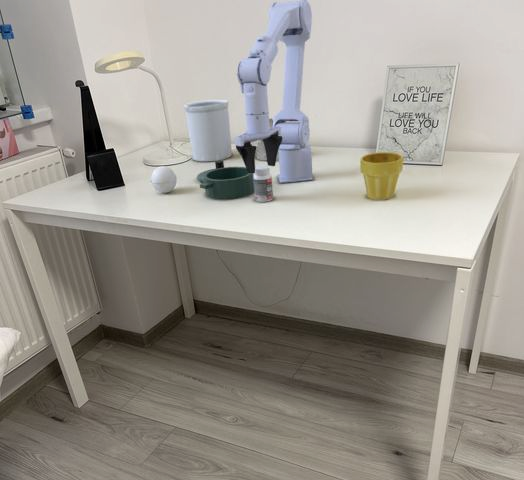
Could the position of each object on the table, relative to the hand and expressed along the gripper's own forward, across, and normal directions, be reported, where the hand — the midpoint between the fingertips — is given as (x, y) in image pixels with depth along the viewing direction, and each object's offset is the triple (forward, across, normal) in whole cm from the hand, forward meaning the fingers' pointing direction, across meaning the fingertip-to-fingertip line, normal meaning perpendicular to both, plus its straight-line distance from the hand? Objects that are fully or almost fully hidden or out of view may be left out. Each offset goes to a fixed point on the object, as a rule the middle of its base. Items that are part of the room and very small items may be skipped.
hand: (261, 169), depth 140 cm
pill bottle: (+8, 0, 0) cm, 8 cm away
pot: (+8, 0, -13) cm, 15 cm away
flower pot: (+8, -17, +25) cm, 32 cm away
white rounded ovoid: (+8, +11, -30) cm, 33 cm away
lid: (+7, -9, -27) cm, 29 cm away
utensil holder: (+8, -25, -50) cm, 56 cm away
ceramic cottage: (+8, -38, -29) cm, 48 cm away
